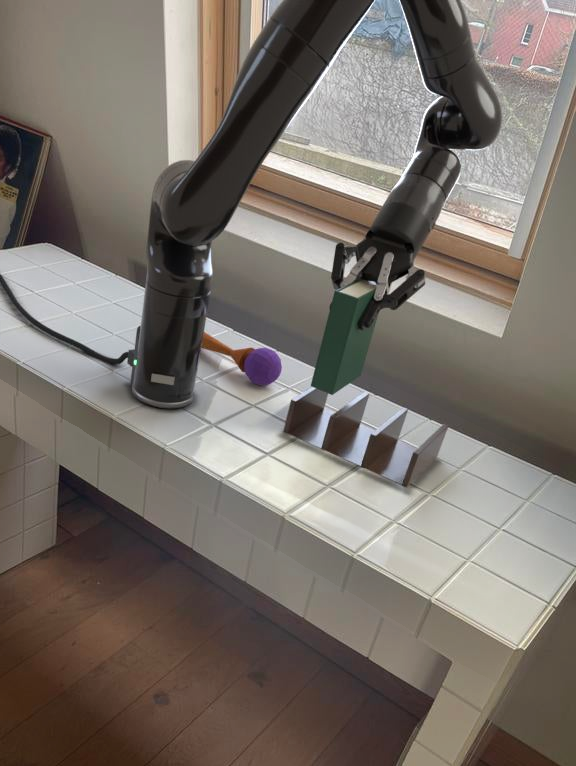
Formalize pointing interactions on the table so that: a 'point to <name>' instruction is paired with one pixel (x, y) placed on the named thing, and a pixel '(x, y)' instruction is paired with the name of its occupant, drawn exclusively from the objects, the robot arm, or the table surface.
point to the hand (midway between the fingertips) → (347, 321)
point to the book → (344, 338)
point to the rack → (361, 436)
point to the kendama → (249, 360)
